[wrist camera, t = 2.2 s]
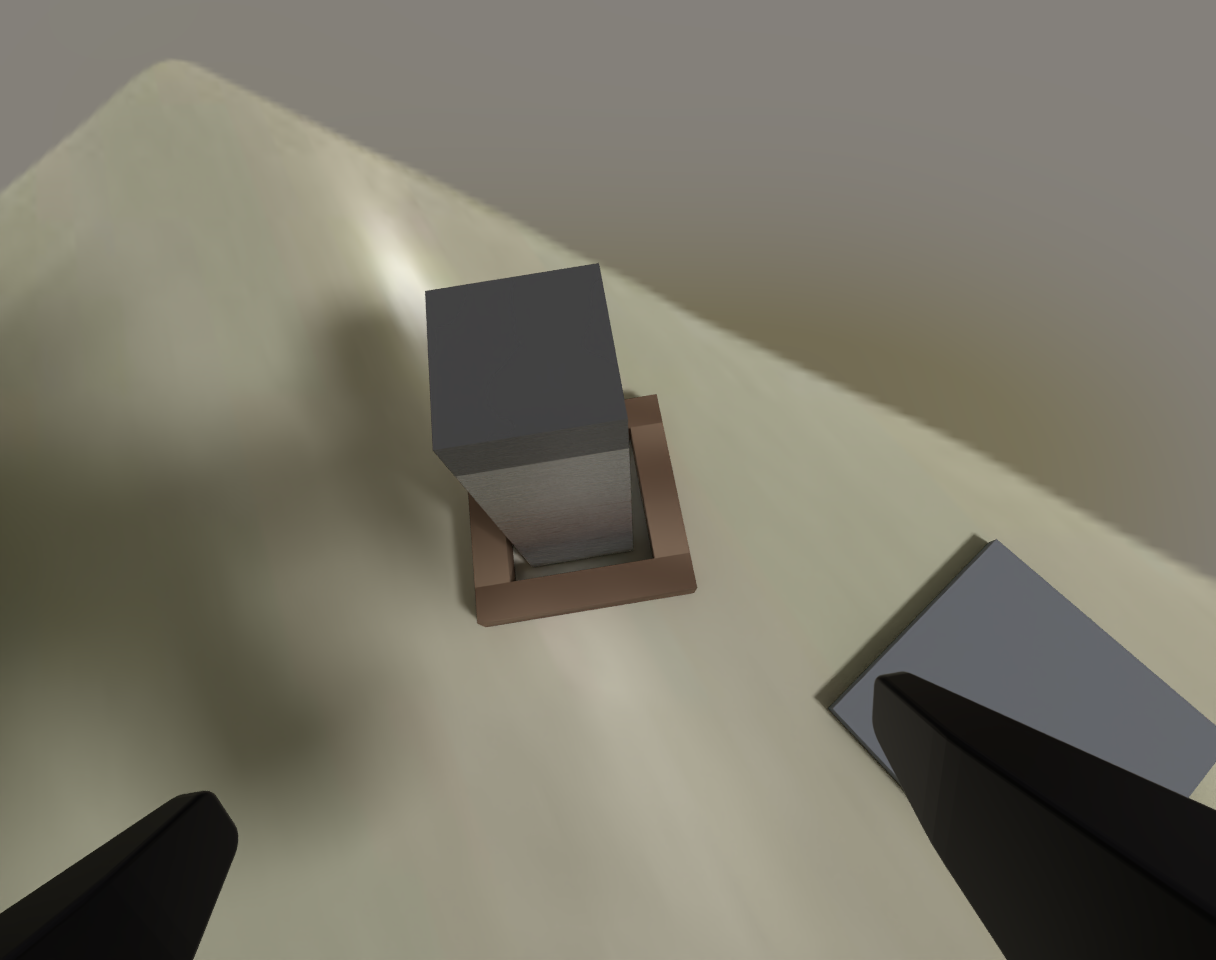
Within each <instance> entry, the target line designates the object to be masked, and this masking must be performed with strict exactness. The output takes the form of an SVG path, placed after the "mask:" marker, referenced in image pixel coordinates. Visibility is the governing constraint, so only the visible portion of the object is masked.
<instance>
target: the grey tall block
mask: <svg viewBox="0 0 1216 960" xmlns="http://www.w3.org/2000/svg"><path fill="white" fill-rule="evenodd" d="M425 298H426V319H427V339H428V360H429V381H430V401H431V422H432V443H433V451H434V452H435V453H436V455H437V456H438V457H439V458H440V459H441V460H442V462H443V463H444V464H445V465H446V466H447V467H448V469H449V470H450V471H451V472H452V473H453V475H454V476H455V477H456V478H457V479H458V480H459V482H460V483H461V484H462V485H463V486H464V487H465V489H466V490H467V491H468V492H469V493H470V494H471V496H472V497H473V498H474V499H475V500H476V501H477V503H478V504H479V505H480V506H481V507H482V508H483V510H484V511H485V512H486V513H487V514H488V516H489V517H490V518H491V519H492V520H493V521H494V523H495V524H496V525H497V526H498V527H499V528H500V530H501V531H502V532H503V533H504V534H505V535H506V537H507V538H508V539H509V540H510V541H511V542H512V544H513V545H514V546H515V547H516V548H517V550H518V551H519V552H520V553H521V554H522V555H523V557H524V558H525V559H526V560H527V561H528V562H529V564H530V565H531V566H532V567H537V566H543V565H549V564H555V563H561V562H567V561H574V560H580V559H586V558H592V557H598V556H604V555H610V554H616V553H622V552H628V551H633V531H632V507H631V482H630V458H629V433H628V416H627V411H626V406H625V400H624V395H623V390H622V384H621V379H620V374H619V368H618V363H617V357H616V352H615V347H614V341H613V336H612V331H611V325H610V320H609V315H608V309H607V304H606V299H605V293H604V288H603V282H602V277H601V272H600V266H599V263H597V264H591V265H585V266H578V267H572V268H566V269H560V270H553V271H547V272H541V273H535V274H529V275H522V276H516V277H510V278H504V279H497V280H491V281H485V282H479V283H473V284H466V285H460V286H454V287H448V288H441V289H435V290H429V291H425Z"/></svg>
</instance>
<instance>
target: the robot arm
mask: <svg viewBox="0 0 1216 960" xmlns="http://www.w3.org/2000/svg"><path fill="white" fill-rule="evenodd" d="M872 724H873V729H874V733H875V735H876V738H877V740H878V742H879V744H880V746H881V748H882V750H883V752H884V754H885V756H886V758H887V760H888V762H889V764H890V766H891V768H892V769H893V771H894V773H895V775H896V777H897V779H898V781H899V783H900V785H901V787H902V789H903V791H904V793H905V794H906V796H907V798H908V800H909V802H910V804H911V806H912V808H913V810H914V812H915V814H916V816H917V818H918V819H919V821H920V823H921V825H922V827H923V829H924V831H925V833H926V834H927V836H928V838H929V840H930V842H931V843H932V845H933V847H934V848H935V850H936V852H937V853H938V855H939V856H940V858H941V860H942V861H943V863H944V864H945V866H946V868H947V869H948V871H949V872H950V874H951V875H952V877H953V878H954V880H955V881H956V883H957V884H958V886H959V887H960V889H961V890H962V892H963V894H964V895H965V897H966V898H967V900H968V901H969V903H970V904H971V906H972V907H973V909H974V910H975V912H976V913H977V915H978V916H979V918H980V920H981V921H982V923H983V924H984V926H985V927H986V929H987V930H988V932H989V933H990V935H991V936H992V938H993V939H994V941H995V942H996V944H997V946H998V947H999V949H1000V950H1001V952H1002V953H1003V955H1004V956H1005V958H1006V959H1007V960H1216V810H1214V809H1212V808H1210V807H1208V806H1205V805H1203V804H1201V803H1199V802H1197V801H1194V800H1192V799H1190V798H1188V797H1185V796H1183V795H1181V794H1179V793H1177V792H1174V791H1172V790H1170V789H1168V788H1165V787H1163V786H1161V785H1159V784H1157V783H1154V782H1152V781H1150V780H1148V779H1145V778H1143V777H1141V776H1139V775H1136V774H1134V773H1132V772H1130V771H1128V770H1125V769H1123V768H1121V767H1119V766H1116V765H1114V764H1112V763H1110V762H1108V761H1105V760H1103V759H1101V758H1099V757H1096V756H1094V755H1092V754H1090V753H1088V752H1085V751H1083V750H1081V749H1079V748H1076V747H1074V746H1072V745H1070V744H1068V743H1065V742H1063V741H1061V740H1059V739H1056V738H1054V737H1052V736H1050V735H1047V734H1045V733H1043V732H1041V731H1039V730H1036V729H1034V728H1032V727H1030V726H1027V725H1025V724H1023V723H1021V722H1019V721H1016V720H1014V719H1012V718H1010V717H1007V716H1005V715H1003V714H1001V713H999V712H996V711H994V710H992V709H990V708H987V707H985V706H983V705H981V704H978V703H976V702H974V701H972V700H970V699H967V698H965V697H963V696H961V695H958V694H956V693H954V692H952V691H950V690H947V689H945V688H943V687H941V686H938V685H936V684H934V683H932V682H930V681H927V680H925V679H923V678H921V677H918V676H916V675H914V674H912V673H909V672H905V671H901V672H895V673H889V674H883V675H879V676H878V677H877V678H876V679H875V682H874V691H873V708H872ZM237 845H238V831H237V828H236V826H235V824H234V822H233V821H232V819H231V818H230V816H229V815H228V813H227V812H226V810H225V809H224V807H223V806H222V804H221V803H220V801H219V800H218V798H217V796H216V795H215V794H214V793H212V792H210V791H199V792H194V793H188V794H182V795H179V796H176V797H175V798H173V799H171V800H169V801H168V802H166V803H165V804H163V805H162V806H160V807H159V808H157V809H156V810H154V811H153V812H151V813H150V814H148V815H147V816H145V817H144V818H142V819H141V820H139V821H138V822H136V823H135V824H133V825H132V826H130V827H129V828H127V829H126V830H124V831H123V832H121V833H120V834H119V835H117V836H116V837H114V838H113V839H111V840H110V841H108V842H107V843H105V844H104V845H102V846H101V847H99V848H98V849H96V850H95V851H93V852H92V853H90V854H89V855H87V856H86V857H84V858H83V859H81V860H80V861H78V862H77V863H75V864H74V865H72V866H71V867H69V868H68V869H66V870H65V871H63V872H62V873H60V874H59V875H57V876H56V877H54V878H53V879H51V880H50V881H48V882H47V883H45V884H44V885H42V886H41V887H39V888H38V889H36V890H35V891H33V892H32V893H30V894H29V895H27V896H26V897H24V898H23V899H21V900H20V901H18V902H17V903H15V904H14V905H12V906H11V907H9V908H8V909H6V910H5V911H3V912H2V913H0V960H193V959H194V956H195V954H196V952H197V949H198V947H199V944H200V941H201V939H202V936H203V934H204V931H205V929H206V926H207V924H208V921H209V919H210V916H211V914H212V911H213V909H214V906H215V904H216V901H217V899H218V896H219V894H220V891H221V889H222V886H223V884H224V881H225V879H226V876H227V873H228V871H229V868H230V866H231V863H232V861H233V858H234V856H235V853H236V850H237Z"/></svg>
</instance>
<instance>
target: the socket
mask: <svg viewBox="0 0 1216 960" xmlns="http://www.w3.org/2000/svg"><path fill="white" fill-rule="evenodd" d="M624 400H625V406H626V411H627V416H628V433H629V440H631V443H632V449H633V454H634V459H635V465H636V470H637V476H638V481H639V486H640V492H641V497H642V502H643V508H644V513H645V519H646V524H647V529H648V535H649V540H650V546H651V551H652V556H653V559H648V560H641V561H635V562H629V563H623V564H617V565H611V566H605V567H599V568H593V569H587V570H580V571H574V572H568V573H562V574H556V575H550V576H544V577H538V578H532V579H526V580H519V581H516V577H515V567H514V556H513V546H512V542H511V541H510V540H509V539H508V538H507V537H506V535H505V534H504V533H503V532H502V531H501V530H500V528H499V527H498V526H497V525H496V524H495V523H494V521H493V520H492V519H491V518H490V517H489V516H488V514H487V513H486V512H485V511H484V510H483V508H482V507H481V506H480V505H479V504H478V503H477V501H476V500H475V499H474V498H473V497H472V496H471V494H470V493H469V492H468V497H469V511H470V525H471V539H472V553H473V567H474V581H475V596H476V610H477V624H480V625H482V626H484V627H490V626H496V625H502V624H508V623H515V622H521V621H527V620H533V619H539V618H545V617H551V616H557V615H563V614H569V613H575V612H581V611H587V610H594V609H600V608H606V607H612V606H618V605H624V604H630V603H636V602H642V601H648V600H654V599H660V598H667V597H673V596H679V595H685V594H691V593H694V592H695V590H696V589H697V584H696V580H695V575H694V570H693V565H692V561H691V556H690V551H689V546H688V542H687V537H686V532H685V527H684V523H683V518H682V513H681V508H680V504H679V499H678V494H677V489H676V485H675V480H674V475H673V470H672V466H671V461H670V456H669V451H668V447H667V442H666V437H665V432H664V427H663V423H662V418H661V413H660V408H659V404H658V399H657V394H655V395H649V396H642V397H636V398H630V399H624Z"/></svg>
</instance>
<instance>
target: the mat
mask: <svg viewBox="0 0 1216 960" xmlns="http://www.w3.org/2000/svg"><path fill="white" fill-rule="evenodd" d="M901 671H905V672H909V673H912V674H914V675H916V676H918V677H921V678H923V679H925V680H927V681H930V682H932V683H934V684H936V685H938V686H941V687H943V688H945V689H947V690H950V691H952V692H954V693H956V694H958V695H961V696H963V697H965V698H967V699H970V700H972V701H974V702H976V703H978V704H981V705H983V706H985V707H987V708H990V709H992V710H994V711H996V712H999V713H1001V714H1003V715H1005V716H1007V717H1010V718H1012V719H1014V720H1016V721H1019V722H1021V723H1023V724H1025V725H1027V726H1030V727H1032V728H1034V729H1036V730H1039V731H1041V732H1043V733H1045V734H1047V735H1050V736H1052V737H1054V738H1056V739H1059V740H1061V741H1063V742H1065V743H1068V744H1070V745H1072V746H1074V747H1076V748H1079V749H1081V750H1083V751H1085V752H1088V753H1090V754H1092V755H1094V756H1096V757H1099V758H1101V759H1103V760H1105V761H1108V762H1110V763H1112V764H1114V765H1116V766H1119V767H1121V768H1123V769H1125V770H1128V771H1130V772H1132V773H1134V774H1136V775H1139V776H1141V777H1143V778H1145V779H1148V780H1150V781H1152V782H1154V783H1157V784H1159V785H1161V786H1163V787H1165V788H1168V789H1170V790H1172V791H1174V792H1177V793H1179V794H1181V795H1183V796H1185V797H1188V798H1189V796H1190V795H1191V794H1192V792H1193V791H1194V790H1195V788H1196V787H1197V786H1198V785H1199V783H1200V782H1201V781H1202V779H1203V778H1204V777H1205V775H1206V774H1207V773H1208V771H1209V770H1210V769H1211V768H1212V766H1213V765H1214V764H1215V762H1216V726H1215V725H1214V724H1213V723H1212V722H1211V721H1210V720H1208V719H1207V718H1206V717H1205V716H1204V715H1203V714H1201V713H1200V712H1199V711H1198V710H1197V709H1195V708H1194V707H1193V706H1192V705H1191V704H1190V703H1188V702H1187V701H1186V700H1185V699H1184V698H1183V697H1181V696H1180V695H1179V694H1178V693H1177V692H1176V691H1174V690H1173V689H1172V688H1171V687H1170V686H1168V685H1167V684H1166V683H1165V682H1164V681H1163V680H1161V679H1160V678H1159V677H1158V676H1157V675H1156V674H1154V673H1153V672H1152V671H1151V670H1150V669H1149V668H1147V667H1146V666H1145V665H1144V664H1143V663H1141V662H1140V661H1139V660H1138V659H1137V658H1136V657H1134V656H1133V655H1132V654H1131V653H1130V652H1129V651H1127V650H1126V649H1125V648H1124V647H1123V646H1121V645H1120V644H1119V643H1118V642H1117V641H1116V640H1114V639H1113V638H1112V637H1111V636H1110V635H1109V634H1107V633H1106V632H1105V631H1104V630H1103V629H1102V628H1100V627H1099V626H1098V625H1097V624H1096V623H1094V622H1093V621H1092V620H1091V619H1090V618H1089V617H1087V616H1086V615H1085V614H1084V613H1083V612H1082V611H1080V610H1079V609H1078V608H1077V607H1076V606H1075V605H1073V604H1072V603H1071V602H1070V601H1069V600H1067V599H1066V598H1065V597H1064V596H1063V595H1062V594H1060V593H1059V592H1058V591H1057V590H1056V589H1055V588H1053V587H1052V586H1051V585H1050V584H1049V583H1048V582H1046V581H1045V580H1044V579H1043V578H1042V577H1040V576H1039V575H1038V574H1037V573H1036V572H1035V571H1033V570H1032V569H1031V568H1030V567H1029V566H1028V565H1026V564H1025V563H1024V562H1023V561H1022V560H1021V559H1019V558H1018V557H1017V556H1016V555H1015V554H1013V553H1012V552H1011V551H1010V550H1009V549H1008V548H1006V547H1005V546H1004V545H1003V544H1002V543H1001V542H999V541H998V540H997V539H996V540H993V541H991V542H989V543H988V544H987V545H986V546H985V547H984V548H983V549H982V550H981V551H980V552H979V553H978V554H977V555H976V556H975V557H974V558H973V559H972V560H971V561H970V562H969V563H968V565H967V566H966V567H965V568H964V569H963V570H962V571H961V572H960V573H959V574H958V575H957V576H956V577H955V578H954V579H953V580H952V581H951V582H950V583H949V584H948V585H947V586H946V587H945V588H944V589H943V590H942V591H941V592H940V593H939V594H938V595H937V596H936V598H935V599H934V600H933V601H932V602H931V603H930V604H929V605H928V606H927V607H926V608H925V609H924V610H923V611H922V612H921V613H920V614H919V615H918V616H917V617H916V618H915V619H914V620H913V621H912V622H911V623H910V624H909V625H908V626H907V627H906V628H905V630H904V631H903V632H902V633H901V634H900V635H899V636H898V637H897V638H896V639H895V640H894V641H893V642H892V643H891V644H890V645H889V646H888V647H887V648H886V649H885V650H884V651H883V652H882V653H881V654H880V655H879V656H878V657H877V658H876V659H875V660H874V661H873V663H872V664H871V665H870V666H869V667H868V668H867V669H866V670H865V671H864V672H863V673H862V674H861V675H860V676H859V677H858V678H857V679H856V680H855V681H854V682H853V683H852V684H851V685H850V686H849V687H848V688H847V689H846V690H845V691H844V692H843V693H842V695H841V696H840V697H839V698H838V699H837V700H836V701H835V702H834V703H833V704H832V705H831V706H830V707H829V708H828V709H829V710H830V711H831V712H832V713H833V714H834V715H835V716H836V717H837V718H838V719H839V720H840V721H841V722H842V724H843V725H844V726H845V727H846V728H847V729H848V730H849V731H850V732H851V733H852V734H853V735H854V736H855V737H856V738H857V739H858V741H859V742H860V743H861V744H862V745H863V746H864V747H865V748H866V749H867V750H868V751H869V752H870V753H871V754H872V755H873V757H874V758H875V759H876V760H877V761H878V762H879V763H880V764H881V765H882V766H883V767H884V768H885V769H886V770H887V771H888V772H889V774H890V775H891V776H892V777H893V778H894V779H895V780H896V781H897V782H898V783H899V781H898V779H897V777H896V775H895V773H894V771H893V769H892V768H891V766H890V764H889V762H888V760H887V758H886V756H885V754H884V752H883V750H882V748H881V746H880V744H879V742H878V740H877V738H876V735H875V733H874V729H873V724H872V708H873V691H874V682H875V679H876V678H877V677H878V676H879V675H883V674H889V673H895V672H901ZM899 784H900V783H899Z"/></svg>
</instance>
